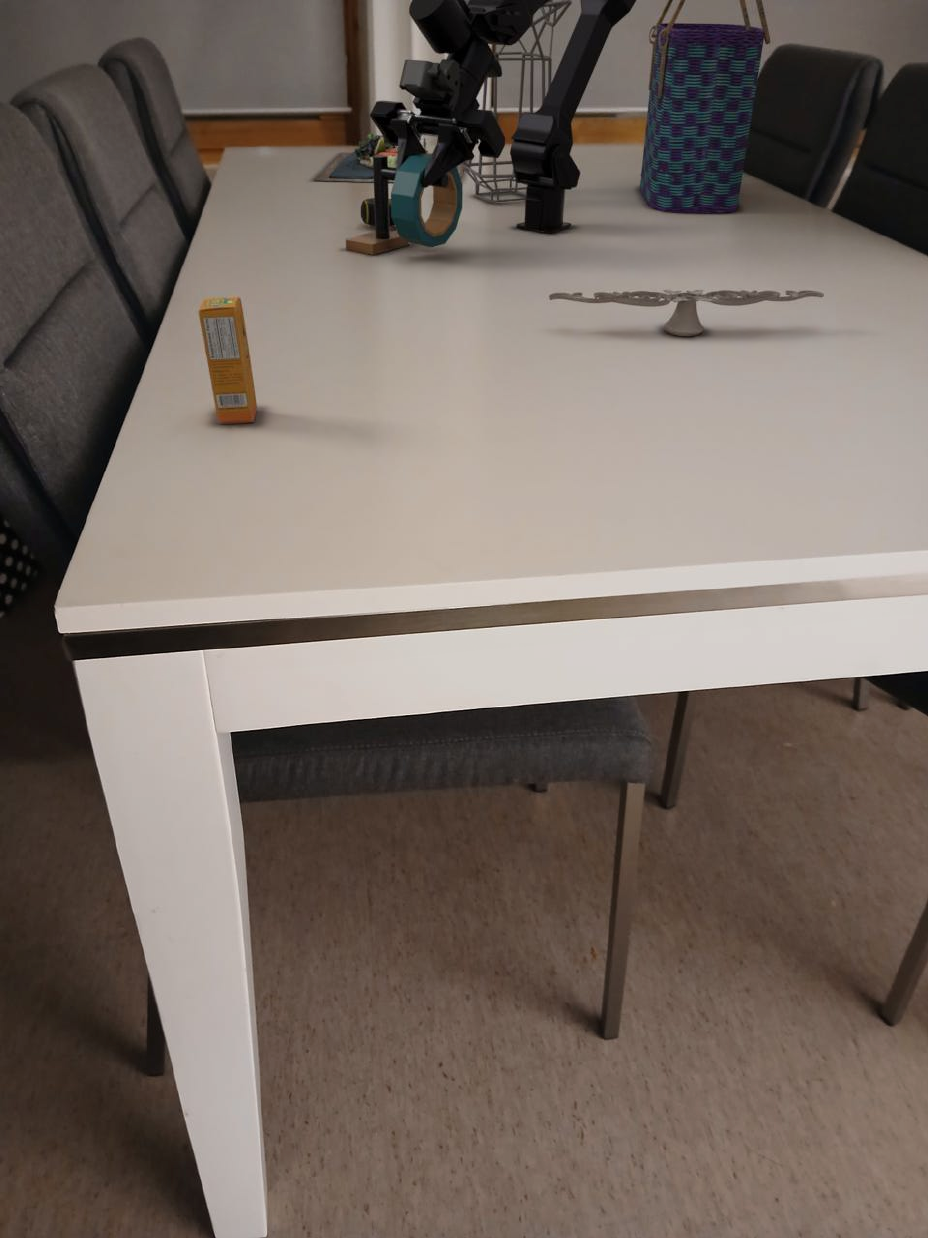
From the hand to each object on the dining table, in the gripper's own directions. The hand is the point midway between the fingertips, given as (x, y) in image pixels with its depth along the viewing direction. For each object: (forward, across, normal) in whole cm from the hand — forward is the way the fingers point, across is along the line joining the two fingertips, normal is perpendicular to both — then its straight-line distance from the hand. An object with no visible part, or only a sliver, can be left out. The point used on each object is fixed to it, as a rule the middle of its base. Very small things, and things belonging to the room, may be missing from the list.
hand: (410, 183), depth 126 cm
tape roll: (+3, 0, +8) cm, 9 cm away
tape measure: (-4, -17, +18) cm, 25 cm away
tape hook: (+4, -3, +10) cm, 11 cm away
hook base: (+4, -9, +10) cm, 14 cm away
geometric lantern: (-25, -15, +40) cm, 49 cm away
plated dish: (-35, -50, +49) cm, 79 cm away
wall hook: (+12, +43, +3) cm, 45 cm away
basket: (-40, +10, +54) cm, 68 cm away
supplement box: (+45, +22, -31) cm, 59 cm away
